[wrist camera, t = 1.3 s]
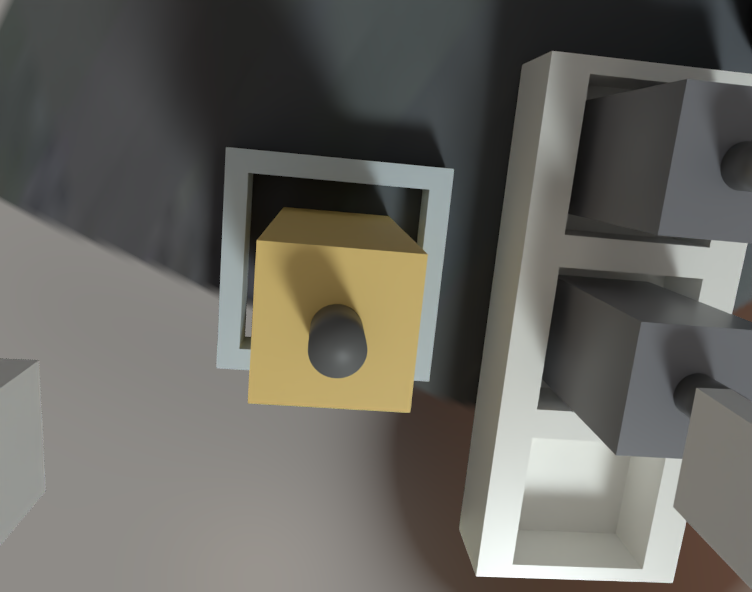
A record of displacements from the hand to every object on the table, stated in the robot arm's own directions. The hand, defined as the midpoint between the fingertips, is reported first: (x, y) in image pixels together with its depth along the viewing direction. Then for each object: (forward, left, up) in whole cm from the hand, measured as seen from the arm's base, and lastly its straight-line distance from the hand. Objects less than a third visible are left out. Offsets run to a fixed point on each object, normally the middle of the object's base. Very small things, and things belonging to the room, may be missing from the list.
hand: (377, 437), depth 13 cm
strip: (+2, +12, -19) cm, 22 cm away
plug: (0, -1, -19) cm, 19 cm away
